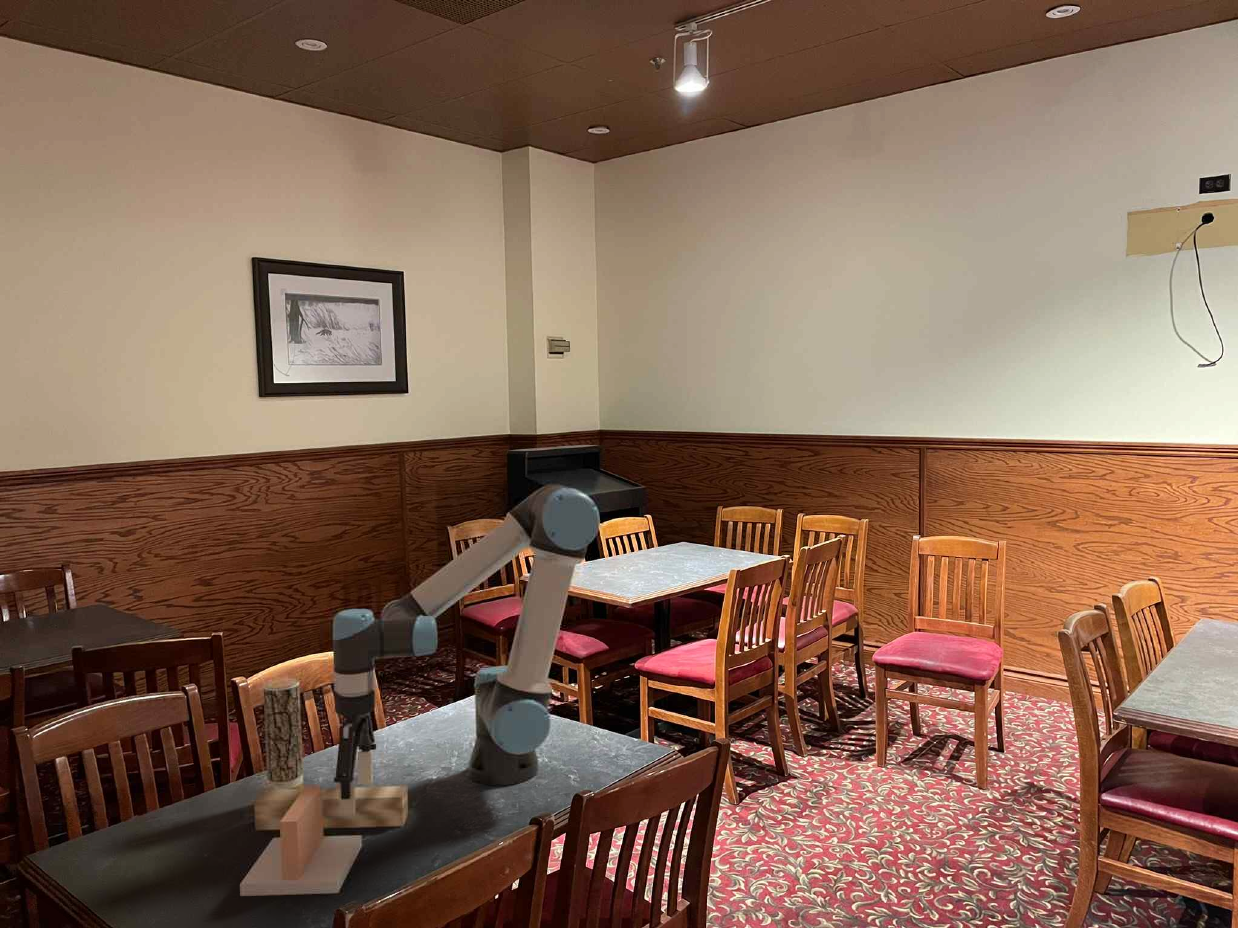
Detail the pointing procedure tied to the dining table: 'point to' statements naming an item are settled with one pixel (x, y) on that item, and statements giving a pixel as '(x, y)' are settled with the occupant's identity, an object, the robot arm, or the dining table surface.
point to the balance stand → (302, 854)
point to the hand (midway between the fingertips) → (356, 798)
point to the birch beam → (337, 807)
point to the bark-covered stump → (283, 734)
